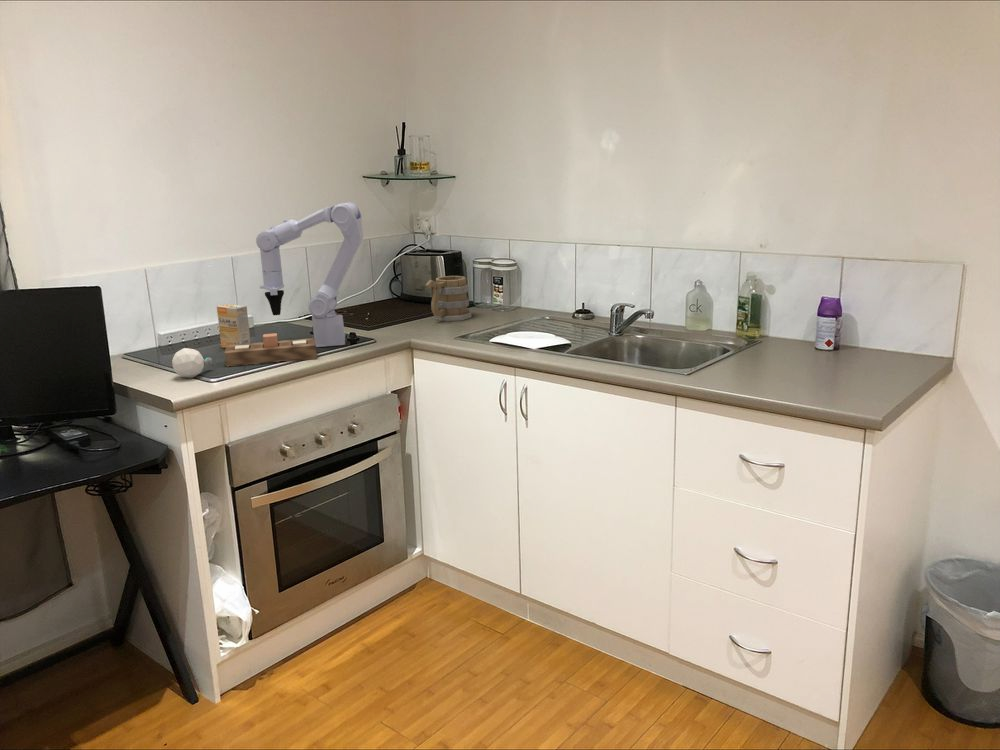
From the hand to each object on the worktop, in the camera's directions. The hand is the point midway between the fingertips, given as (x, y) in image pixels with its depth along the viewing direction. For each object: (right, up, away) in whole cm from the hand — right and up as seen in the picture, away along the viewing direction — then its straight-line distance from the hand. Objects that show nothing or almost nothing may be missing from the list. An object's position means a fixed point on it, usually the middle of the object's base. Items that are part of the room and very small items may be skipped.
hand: (276, 314), depth 249 cm
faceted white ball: (-14, -19, -30) cm, 38 cm away
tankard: (+50, +1, +33) cm, 60 cm away
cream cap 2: (+11, -12, -13) cm, 21 cm away
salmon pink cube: (+3, -11, -16) cm, 19 cm away
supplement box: (-13, -10, +1) cm, 16 cm away
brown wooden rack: (+3, -14, -15) cm, 20 cm away
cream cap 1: (-5, -14, -17) cm, 22 cm away
